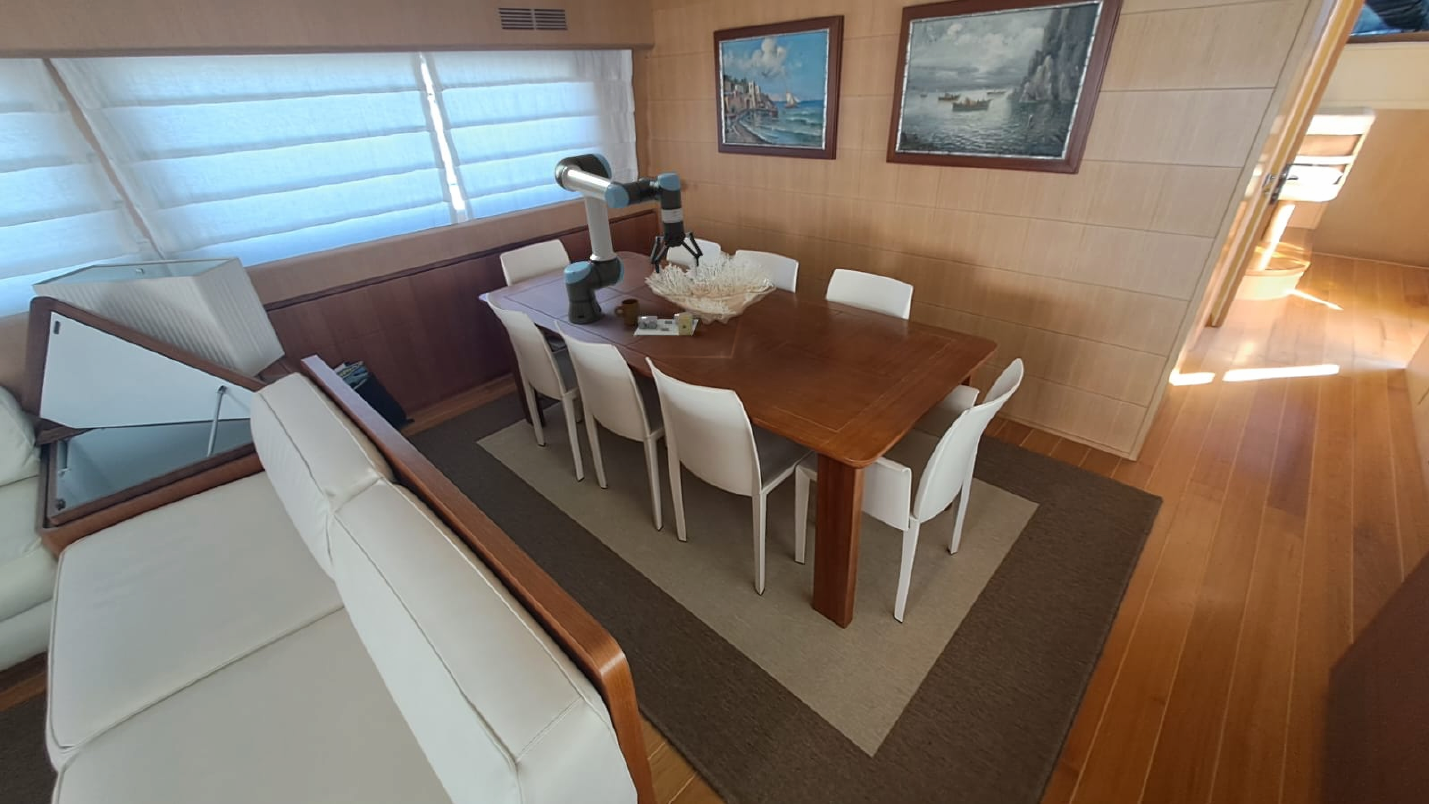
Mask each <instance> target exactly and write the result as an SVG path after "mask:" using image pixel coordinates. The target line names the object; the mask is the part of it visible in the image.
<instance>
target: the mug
mask: <svg viewBox="0 0 1429 804" xmlns="http://www.w3.org/2000/svg"><path fill="white" fill-rule="evenodd" d="M620 303H621V305H617V306H616V307H614V309H613V314H614V315H615V316H616V318H622V319H623V324H624V325H625V326H637V325H638V316H642V315H641V314H642V313H641V307H640V301H639V299H636V298H627V299H623V300H622V301H621V302H620ZM619 310H620V311H621V312H618V311H619Z"/></svg>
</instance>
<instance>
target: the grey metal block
mask: <svg viewBox="0 0 1429 804" xmlns="http://www.w3.org/2000/svg"><path fill="white" fill-rule="evenodd" d="M679 314H692V320H693V324H694V319H695V314H694V312H693V311H692V310H690V311H684V312H679V313H675V314H674V315H673V319H674V320H675V324H676V325H677V326H678V320H677V318H678V316H679Z"/></svg>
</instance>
